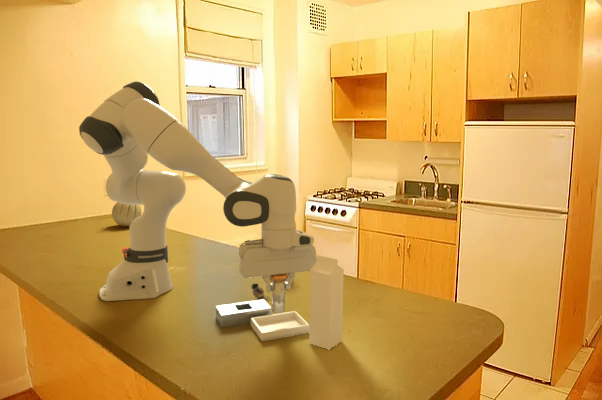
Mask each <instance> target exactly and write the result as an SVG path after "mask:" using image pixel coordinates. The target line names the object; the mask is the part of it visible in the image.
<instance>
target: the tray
mask: <svg viewBox="0 0 602 400" xmlns="http://www.w3.org/2000/svg"><path fill="white" fill-rule="evenodd" d="M250 327H251V329H253V331H254V332H255V334H256V336H257V337H258V338H259V339H260V341H261V342H266V341H272V340H278V338H279V339H283V337H284V338H289V337H295V335H296V336H301V335H307V334H309V323H308V321H306V320H305V319H304V318H303V317H302V315H300V314H299V313H298V312H297V310H294V311H287V312H285V311H284V312H283V313H273V314H272V315H266V316H260V317H253V318H251V323H250ZM306 333H307V334H306Z"/></svg>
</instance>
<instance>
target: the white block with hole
mask: <svg viewBox="0 0 602 400" xmlns="http://www.w3.org/2000/svg"><path fill="white" fill-rule="evenodd" d="M272 312H273V307H271V306H270V304H269V303H268V302H267V300H266V299H265V300H264V299H262V300H260V299H256V300H249V301H240V302H233V303H228V304H220V305H215V318H216V320H217V322H218V324H219V326H220V327H221V329H223V328H228V327H230V328H231V327H236V326H242V325H248V324H251V318H253V317H260V316H266V315H272Z"/></svg>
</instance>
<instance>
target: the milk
mask: <svg viewBox="0 0 602 400" xmlns="http://www.w3.org/2000/svg"><path fill="white" fill-rule="evenodd" d="M316 257H317V262H316V263H315V264H314V266H313V267H312V268H311V270H310V271H309V318H308V319H309V323H308V324H309V333H308V335H309V336H308V337H309V338H308V339H309V340H308V344H309V343H310V345H312V344H313V345H312V346H315V345H316V346H315V347H317V346H319V347H318V348H320V347H322V348H321V349H323V348H326V349H328V350H327V351H330V350H329V349H331V348H332V347H334V346H335V345H336V346H338V345H339V344H340V343H339V342H341V341H342V342H343V319H344V318H343V316H344V314H343V313H344V311H343V310H344V271H345V270H344V268H343V267H341V266H339V265H338V264H339V263H338V262H339V260H338V259H337V258H333V257H329V256H323V255H319V254H317V255H316ZM342 342H341V343H342ZM338 343H339V344H338ZM337 344H338V345H337ZM336 346H335V347H336ZM335 347H334V348H335ZM326 349H325V350H326ZM332 349H333V348H332ZM332 349H331V350H332Z"/></svg>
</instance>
